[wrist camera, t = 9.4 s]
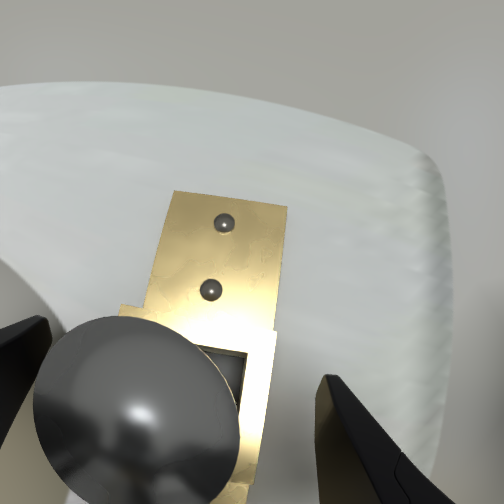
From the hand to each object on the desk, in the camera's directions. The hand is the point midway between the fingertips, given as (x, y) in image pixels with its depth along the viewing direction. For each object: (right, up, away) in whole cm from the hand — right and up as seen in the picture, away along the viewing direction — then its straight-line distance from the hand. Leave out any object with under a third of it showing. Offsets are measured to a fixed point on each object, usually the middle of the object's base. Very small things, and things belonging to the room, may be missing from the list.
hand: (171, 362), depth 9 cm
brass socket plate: (-1, -4, +7) cm, 8 cm away
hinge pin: (-1, -4, +7) cm, 8 cm away
